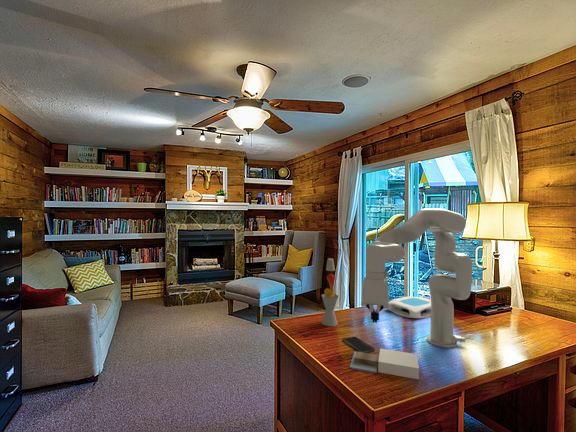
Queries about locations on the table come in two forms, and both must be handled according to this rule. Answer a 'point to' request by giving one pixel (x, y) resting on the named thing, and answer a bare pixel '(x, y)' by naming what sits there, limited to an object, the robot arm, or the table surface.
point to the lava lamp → (330, 297)
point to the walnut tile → (366, 359)
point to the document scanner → (411, 306)
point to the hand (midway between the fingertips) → (374, 321)
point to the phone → (358, 345)
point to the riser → (398, 363)
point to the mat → (362, 366)
